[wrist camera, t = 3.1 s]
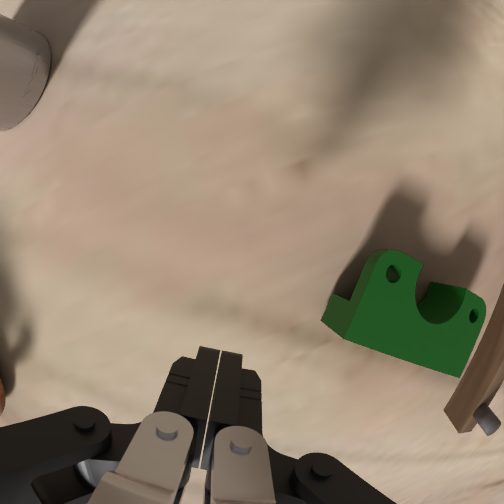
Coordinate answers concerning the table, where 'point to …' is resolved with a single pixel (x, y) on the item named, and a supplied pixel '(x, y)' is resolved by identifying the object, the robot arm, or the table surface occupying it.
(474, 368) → the bar
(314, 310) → the table surface
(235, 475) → the robot arm
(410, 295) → the clamp
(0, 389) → the ceramic jug
